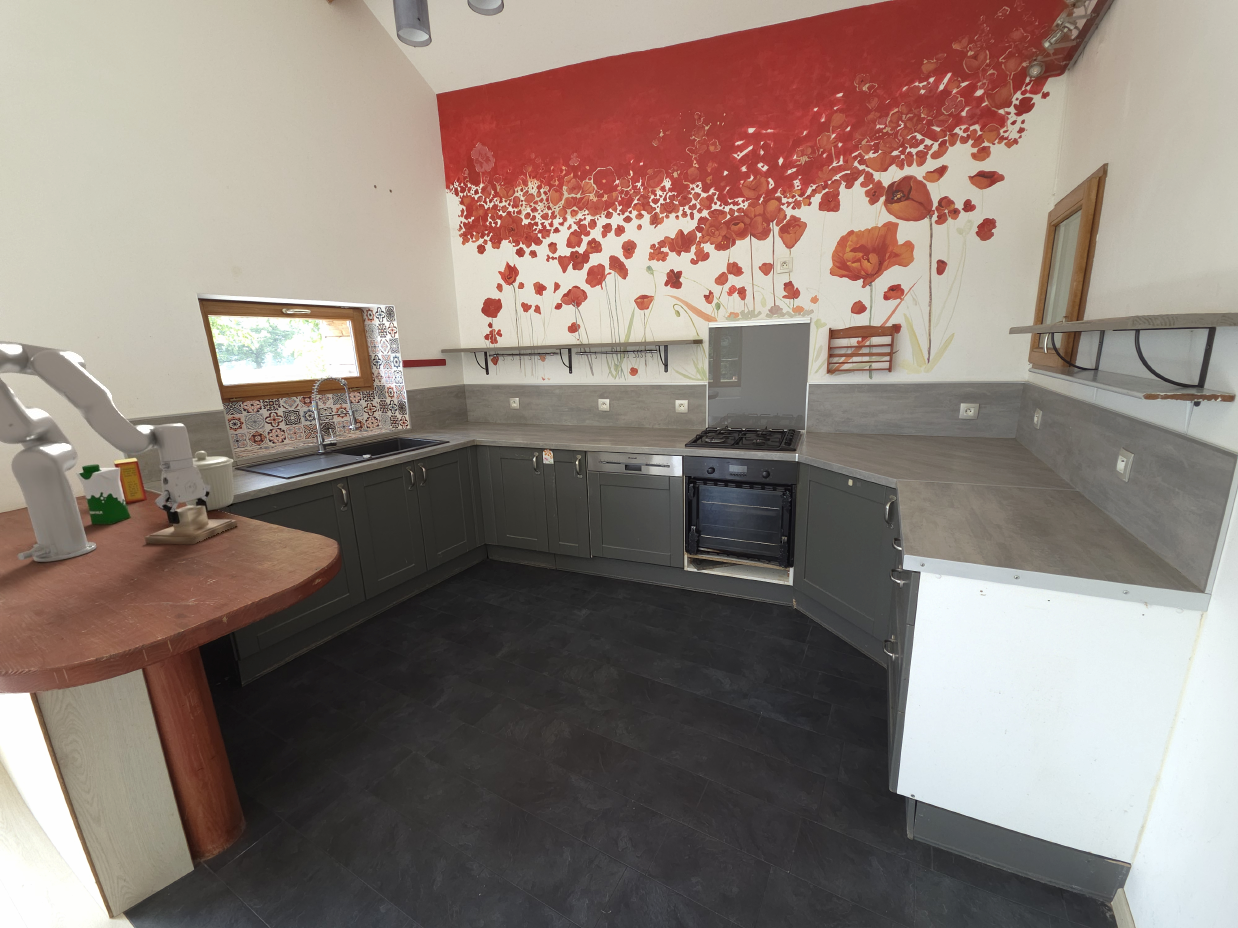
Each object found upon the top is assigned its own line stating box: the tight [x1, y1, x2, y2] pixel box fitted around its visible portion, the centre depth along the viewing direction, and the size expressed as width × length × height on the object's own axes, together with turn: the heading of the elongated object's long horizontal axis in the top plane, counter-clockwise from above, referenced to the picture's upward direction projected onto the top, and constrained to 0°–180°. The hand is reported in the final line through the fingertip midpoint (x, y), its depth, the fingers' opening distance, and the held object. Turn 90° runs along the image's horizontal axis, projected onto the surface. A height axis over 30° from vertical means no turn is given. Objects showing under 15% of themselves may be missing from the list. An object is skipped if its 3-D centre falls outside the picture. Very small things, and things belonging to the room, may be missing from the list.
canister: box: [185, 450, 235, 512], centre depth 192 cm, size 18×18×21 cm
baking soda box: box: [112, 457, 148, 504], centre depth 206 cm, size 10×6×16 cm
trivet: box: [144, 518, 238, 545], centre depth 165 cm, size 16×16×2 cm
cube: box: [172, 505, 209, 531], centre depth 164 cm, size 6×6×6 cm
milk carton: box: [76, 463, 132, 525], centre depth 179 cm, size 9×9×20 cm
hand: (189, 518), depth 164 cm, fingers open, 9 cm apart
